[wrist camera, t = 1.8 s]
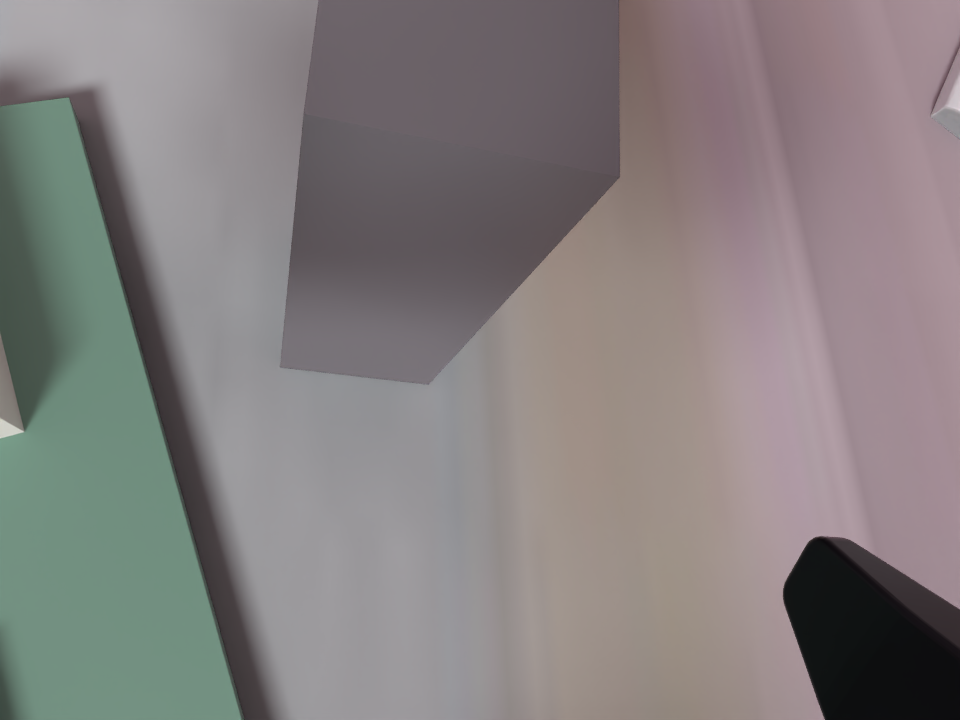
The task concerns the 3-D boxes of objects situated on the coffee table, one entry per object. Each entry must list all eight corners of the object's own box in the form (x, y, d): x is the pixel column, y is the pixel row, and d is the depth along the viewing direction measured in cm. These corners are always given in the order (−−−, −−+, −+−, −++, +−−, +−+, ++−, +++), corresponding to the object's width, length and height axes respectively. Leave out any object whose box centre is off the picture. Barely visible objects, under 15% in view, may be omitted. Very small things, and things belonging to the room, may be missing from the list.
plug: (428, 384, 23) (620, 176, 11) (280, 367, 21) (303, 113, 9) (438, 240, 24) (617, -91, 12) (299, 217, 23) (341, -173, 11)
